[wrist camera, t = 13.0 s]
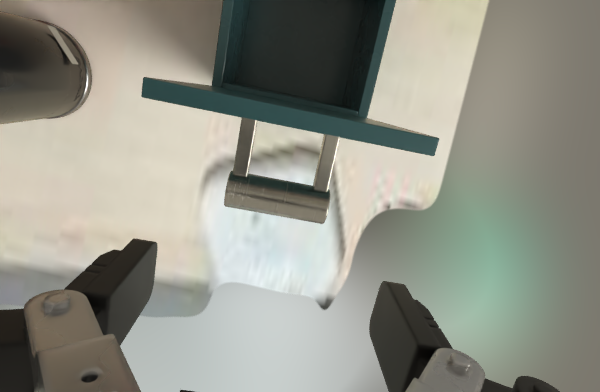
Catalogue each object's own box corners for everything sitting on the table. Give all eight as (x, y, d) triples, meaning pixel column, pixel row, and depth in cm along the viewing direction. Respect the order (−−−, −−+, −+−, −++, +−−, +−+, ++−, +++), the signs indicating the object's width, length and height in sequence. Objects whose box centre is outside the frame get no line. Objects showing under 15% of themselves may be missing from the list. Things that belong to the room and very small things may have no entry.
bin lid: (142, 76, 15) (130, 203, 17) (440, 138, 16) (406, 252, 18) (210, 85, 29) (200, 154, 31) (368, 118, 30) (352, 183, 32)
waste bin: (251, -56, 37) (237, -111, 26) (377, -25, 38) (412, -66, 27) (230, 89, 40) (210, 90, 30) (345, 113, 41) (365, 122, 31)
